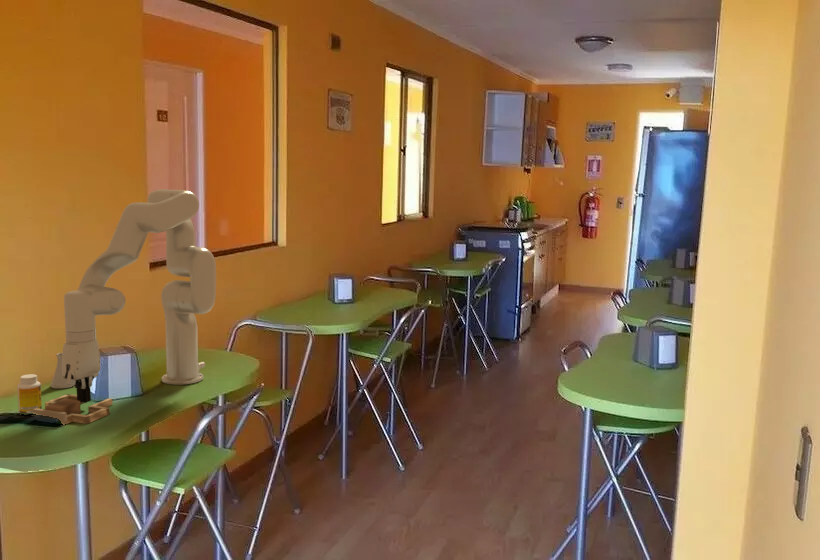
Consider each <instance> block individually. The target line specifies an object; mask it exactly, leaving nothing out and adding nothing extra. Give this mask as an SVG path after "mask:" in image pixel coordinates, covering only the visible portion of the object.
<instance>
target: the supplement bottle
mask: <svg viewBox="0 0 820 560" xmlns="http://www.w3.org/2000/svg"><path fill="white" fill-rule="evenodd" d="M19 378H20V382H19V383H18V384H17V389H16V390H17V403H18V404H17V405H18V414H19V413H33V409H35V408H38V409H43V405H42V401H43V400H42V387H41V386H42V385H41V382H40V381H38V375H37V374H33V373H31V374H30V373H29V374H23V375H21V376H20V377H19Z"/></svg>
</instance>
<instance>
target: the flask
mask: <svg viewBox="0 0 820 560" xmlns="http://www.w3.org/2000/svg"><path fill="white" fill-rule="evenodd" d="M62 353H63V352H58V353H56V355H55V356H56V358H57V362H56V368H55V371H54V375H53V378H52V380H51V382H50V385H49V386H50V387H51V388H52V389H67V388H73V387H74V385H67V379H64V378H63V377H62ZM72 386H73V387H72Z"/></svg>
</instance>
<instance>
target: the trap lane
mask: <svg viewBox="0 0 820 560" xmlns="http://www.w3.org/2000/svg"><path fill="white" fill-rule="evenodd" d="M63 399H70V400H77V394H73V393H72V394H70V393H66V394H65V395H64V394H63V395H61V396H58V397H56V398H53V399H50V400H47V401H45V402H44V407H45V406H47V405H50V404H53V403H55V402H58V401H60V400H63ZM81 404H84V403H83V402H80V405H81ZM112 404H114V403H113V398H106V399H104V400H102V401H99V402H96V403H94V404H92V405H89V406H88V407H87V408H88V411H87V413H88V414H82V413H81V414H74V413H71V414H68V415H67V413H66V412H59V411H52V410H45V408H44V409H43V408H42V409H38V408H35V409H33V414H36V415H43V416H49V417H53V418H57V419H59V420H60V421H61V423H62V424H63V425H62V426H65V424H66V425H67V424H70V423H73V422H74V423H78V424H85V425H86V424H87V425H88V424H91V423H93V422H95V421H97V420H99V419H102V418H104V417H106V416H109V415H110V414H111V411H110V407H111V406H110V405H112ZM112 406H113V405H112Z"/></svg>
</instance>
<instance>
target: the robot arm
mask: <svg viewBox="0 0 820 560" xmlns="http://www.w3.org/2000/svg"><path fill="white" fill-rule="evenodd" d="M199 208H200V201H199V198H198V197H197V195H196V194H195V193H193V192H191V191H190V190H185V189H169V188H168V189H167V188H166V189H156V190H153V191H151V192H150V193H149V194H148V196H147V202H131V203H129V204H127V206H125V208H124V209H123V211H122V214H121V215H120V217H119V221H118V223H117V225H116V227H115V230H114V233H113V235H112V237H111V240H110V242H109V245H108V247H107V248H106V249H105V250H104V251H103V252H102V253H101V254H100V255H99V256H98V257H97V258H96V259H95V260H94V261H93V262H92V263H91V264H90V265H89V266H88V268H87V269H86V271H85V272H84V274H83V276H82V278H81V281H80V283H79V286H78V289H75V290H71V291H68V292H66V293H65V294H64V296H63V308H64V309H63V310H64V329H65V332H64V333H65V342H64V343H63V346H62V352H61V353H62V377H63V378H64V379H67V385H74V386H73V387H74V388H75V389H76V395H77V401H80V402H83V403H82V404H87V403H88V402H91V400H92V399H91V396H92V395H91V387H92V385H93V382H94V379H95V378H96V377H98V376H99V372H100V371H101V353H100V347H99V343H98V339H97V329H96V327H97V326H96V317H97V316H111V315H116V314H118V313H120V312H121V311H122V310H123V309H124V307H125V305H126V297H125V295H124V293H123V292H122V291H120V290H119V289H118V288H114V287H108V286H107V287H106V285H107V282H108V280H109V279H110V278H111V277H112V276H113V275H114V274H115V273H116V272H117V271H119V270H121V269H123V268H126V267H127V266H129V265H131V264H133V263H135V262H137V261H138V259H139V258H140V254H141V252H142V249H143V246H144V245H145V243H146V242H145V241H146V239H147V237H148V235H149V233H153V234H154V233H155V234H159V233H164V232H165V240H166V244H165V245H166V247H165V249H166V251H165V252H166V254H165V256H166V258H165V259H166V261H165V262H166V269H167V271H168V273H169V274H172V275H173V276H176V277H182V278H183V277H184V278H190V279H189V281H188V280H183V279H182V280H181V279H177V280H172V281H171V280H170V282H167V283H166V284H165V285H164V286H163V288H162V290H161V297H160V298H161V300H160V301H161V304H162V308H163V312H164V321H165V323H164V324H165V356H166V357H165V359H166V374H163V376H161V382H163V383H164V384H167V385H173V386H174V385H175V386H176V385H177V386H179V385H180V386H182V385H191V384H195V383H199V382H201V381H202V380H204V374H203V373H202V372H200V369H203V368H205V366H206V363H205V362H204V361H200V362H199V350H198V347H199V345H198V341H199V340H198V323H197V322H198V320H197V317H196V315H205V314H208V313H209V312H211V310H212V309H213V307H214V305H215V303H216V297H217V295H216V294H217V293H216V292H217V263H216V260H215V257H214V254H213V253H212V251H210V250H209V249H207V248H205V247H201V246H196V232H195V227H194V224H193V221H192V219H193V217H195V216H196V215H197V213H198V211H199ZM195 314H196V315H195Z"/></svg>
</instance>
